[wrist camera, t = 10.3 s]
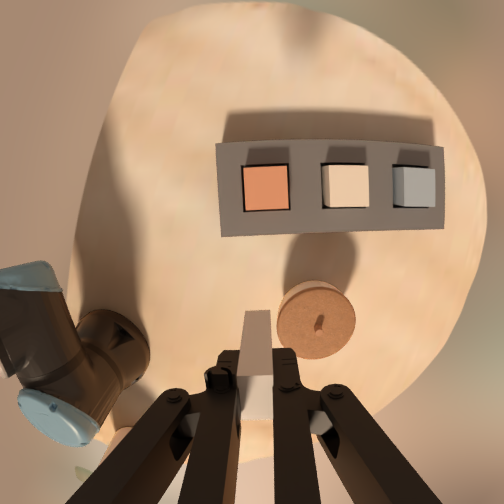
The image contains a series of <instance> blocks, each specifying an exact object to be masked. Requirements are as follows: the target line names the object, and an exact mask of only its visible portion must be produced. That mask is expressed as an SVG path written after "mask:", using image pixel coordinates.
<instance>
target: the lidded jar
mask: <svg viewBox="0 0 504 504" xmlns="http://www.w3.org/2000/svg"><path fill="white" fill-rule="evenodd" d="M355 321H356V317H355V312H354V309H353V307H352V305H351V303H350V302H349V300H348V299H347V298H346V297H345V296H344V295H343V294H342V293H341V291H339V290H338V289H337V288H336V287H334V286H333V285H331V284H329V283H326V282H323V281H315V280H312V281H306V282H302V283H300V284H298V285H296V286H294V287H293V288H292V289H290V290H289V291H288V292H287V294H286V295H285V296H284V298H283V299H282V301H281V304H280V306H279V310H278V315H277V334H278V337H279V340H280V342H281V344H282V345H283V346H284V348H292V349H293V350H294V351H295V352H296V356H297V357H300V358H304V359H320V358H325V357H328V356H330V355H332V354H334V353H336V352H338V351H339V350H340V349H341V348H343V347H344V346H345V345H346V344H347V342H348V341H349V339H350V338H351V336H352V334H353V331H354V328H355Z"/></svg>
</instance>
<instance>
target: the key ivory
mask: <svg viewBox="0 0 504 504" xmlns="http://www.w3.org/2000/svg"><path fill="white" fill-rule="evenodd" d="M321 184H322V204H324V205H326V206H329V207H369V176H368V166H358V165H328V166H323V167H321Z"/></svg>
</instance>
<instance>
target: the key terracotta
mask: <svg viewBox="0 0 504 504" xmlns="http://www.w3.org/2000/svg"><path fill="white" fill-rule="evenodd" d="M243 169H244V187H245V204H246V210H264V209H287V208H289V207H288V184H287V166H271V167H251V168H243Z"/></svg>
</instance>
